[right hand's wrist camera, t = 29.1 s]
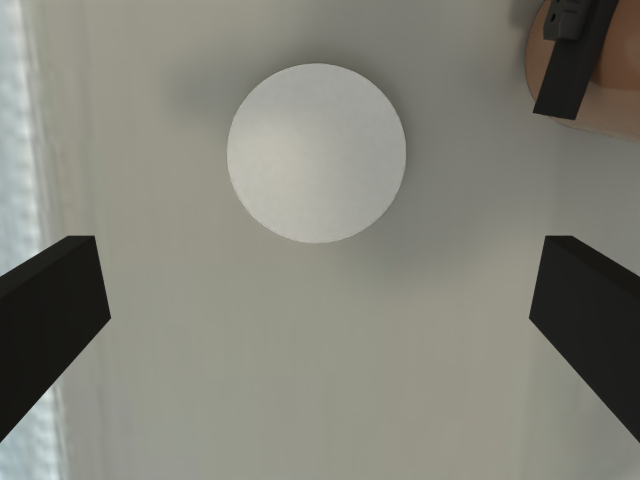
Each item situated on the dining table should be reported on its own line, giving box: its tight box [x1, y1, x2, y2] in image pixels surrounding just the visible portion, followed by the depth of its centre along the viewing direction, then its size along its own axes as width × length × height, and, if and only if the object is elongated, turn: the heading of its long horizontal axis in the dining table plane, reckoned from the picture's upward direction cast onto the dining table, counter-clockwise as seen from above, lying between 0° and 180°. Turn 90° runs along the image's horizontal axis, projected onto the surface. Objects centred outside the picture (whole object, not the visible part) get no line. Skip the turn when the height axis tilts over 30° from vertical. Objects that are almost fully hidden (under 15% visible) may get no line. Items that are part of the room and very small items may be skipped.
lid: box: [227, 63, 407, 243], centre depth 27 cm, size 11×11×2 cm
